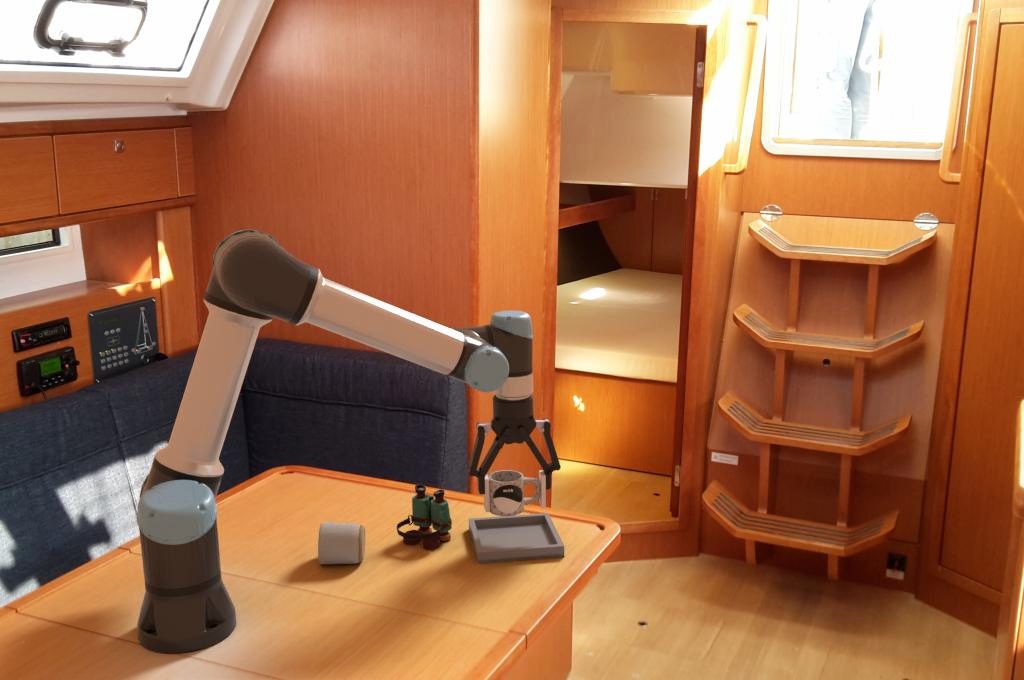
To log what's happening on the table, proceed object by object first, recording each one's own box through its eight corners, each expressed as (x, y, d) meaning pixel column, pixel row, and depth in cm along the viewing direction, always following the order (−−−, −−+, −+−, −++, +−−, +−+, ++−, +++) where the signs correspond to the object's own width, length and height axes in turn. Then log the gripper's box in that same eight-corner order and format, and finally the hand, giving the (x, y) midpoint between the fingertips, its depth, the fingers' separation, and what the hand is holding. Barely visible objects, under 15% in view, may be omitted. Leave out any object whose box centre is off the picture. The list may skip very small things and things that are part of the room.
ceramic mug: (363, 569, 187) (362, 529, 185) (318, 571, 186) (316, 531, 185) (368, 546, 197) (366, 508, 195) (325, 548, 196) (323, 509, 195)
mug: (492, 517, 192) (491, 484, 190) (486, 504, 198) (485, 471, 196) (544, 512, 193) (544, 479, 192) (536, 499, 200) (536, 467, 198)
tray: (478, 563, 188) (478, 552, 188) (468, 529, 204) (468, 518, 203) (564, 557, 191) (564, 545, 190) (548, 523, 206) (548, 512, 206)
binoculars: (386, 500, 193) (418, 478, 201) (392, 550, 197) (423, 527, 205) (424, 509, 189) (455, 487, 197) (430, 560, 192) (460, 536, 200)
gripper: (568, 385, 196) (569, 495, 201) (450, 392, 193) (453, 504, 198) (577, 396, 189) (577, 510, 194) (454, 403, 185) (457, 519, 190)
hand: (514, 507), depth 196 cm, fingers closed on mug, 10 cm apart
